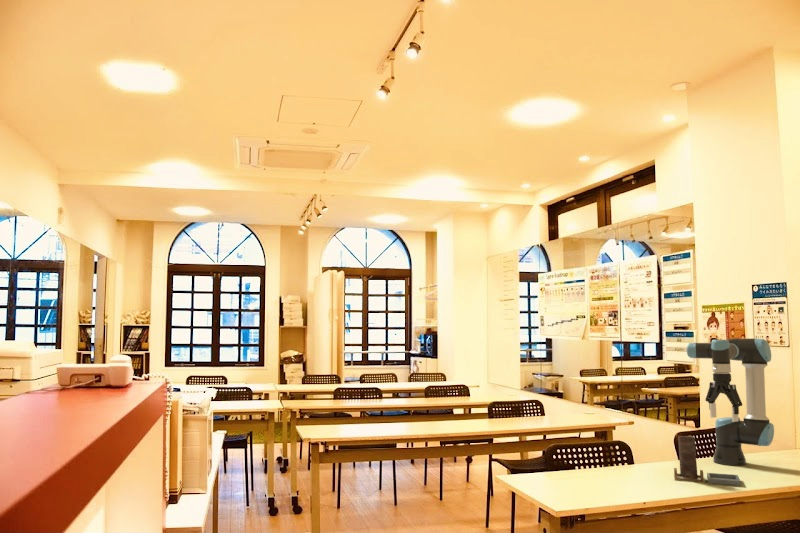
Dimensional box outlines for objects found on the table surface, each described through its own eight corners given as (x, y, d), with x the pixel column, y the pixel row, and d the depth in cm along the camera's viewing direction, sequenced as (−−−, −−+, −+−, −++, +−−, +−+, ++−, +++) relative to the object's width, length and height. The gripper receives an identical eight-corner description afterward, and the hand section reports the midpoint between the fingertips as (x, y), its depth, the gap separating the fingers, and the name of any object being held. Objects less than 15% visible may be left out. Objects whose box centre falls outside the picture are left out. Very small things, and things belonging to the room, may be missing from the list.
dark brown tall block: (679, 479, 299) (677, 436, 301) (680, 476, 306) (678, 433, 307) (697, 481, 296) (695, 437, 297) (698, 478, 302) (696, 434, 304)
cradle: (674, 475, 308) (673, 466, 308) (702, 477, 303) (702, 468, 303) (674, 480, 298) (674, 471, 299) (704, 482, 293) (703, 473, 294)
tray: (706, 477, 303) (706, 472, 303) (737, 480, 298) (737, 474, 298) (708, 484, 291) (708, 478, 291) (740, 486, 286) (740, 481, 286)
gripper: (696, 371, 309) (698, 416, 307) (735, 375, 285) (738, 423, 283) (709, 370, 311) (711, 415, 309) (749, 374, 287) (752, 422, 285)
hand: (724, 419), depth 296 cm, fingers open, 13 cm apart
